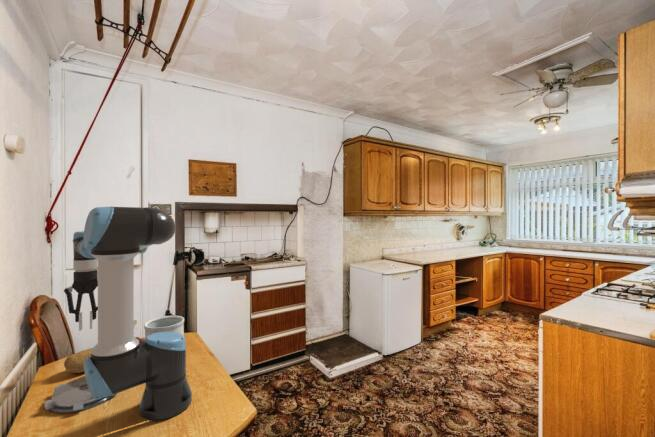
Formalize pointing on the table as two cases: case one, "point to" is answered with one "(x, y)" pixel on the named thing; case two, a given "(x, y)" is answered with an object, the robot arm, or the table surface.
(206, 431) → the table surface
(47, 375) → the table surface
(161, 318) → the utensil holder
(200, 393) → the table surface
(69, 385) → the sprocket
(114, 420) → the table surface
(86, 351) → the potato
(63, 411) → the base plate
